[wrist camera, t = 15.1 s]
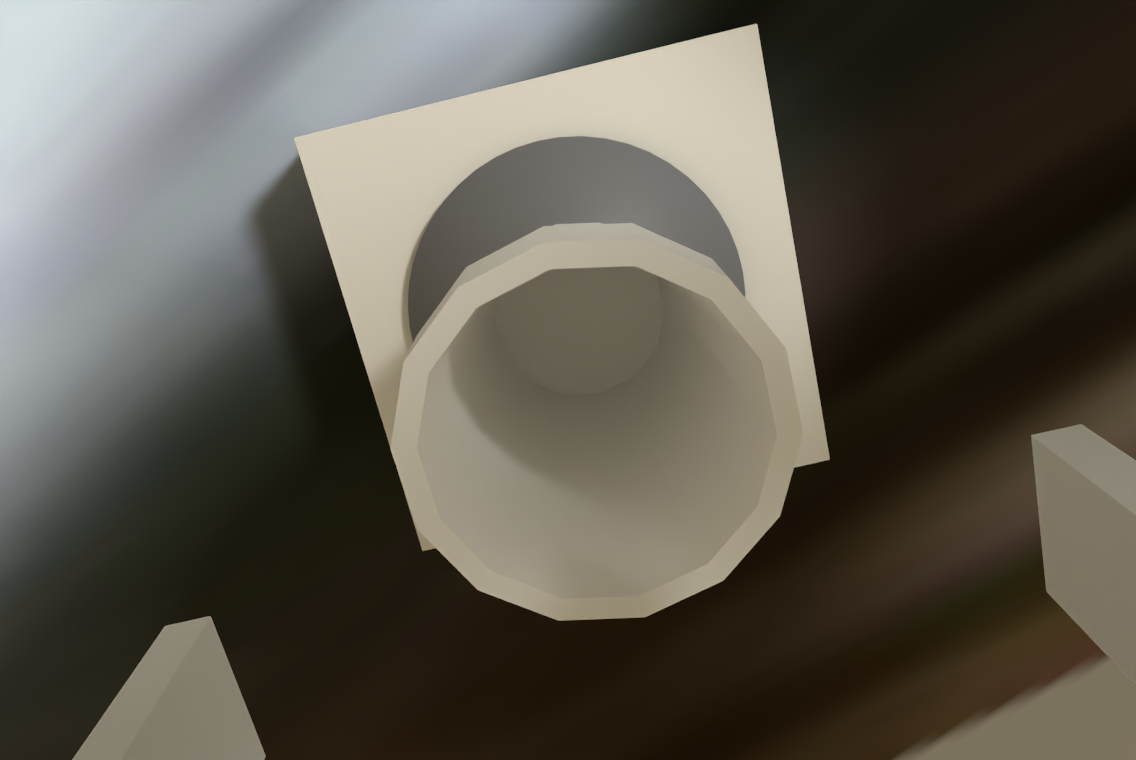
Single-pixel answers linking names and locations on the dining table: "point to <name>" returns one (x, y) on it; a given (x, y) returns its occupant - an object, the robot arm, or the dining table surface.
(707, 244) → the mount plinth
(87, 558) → the dining table surface
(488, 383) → the foam cup
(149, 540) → the dining table surface
